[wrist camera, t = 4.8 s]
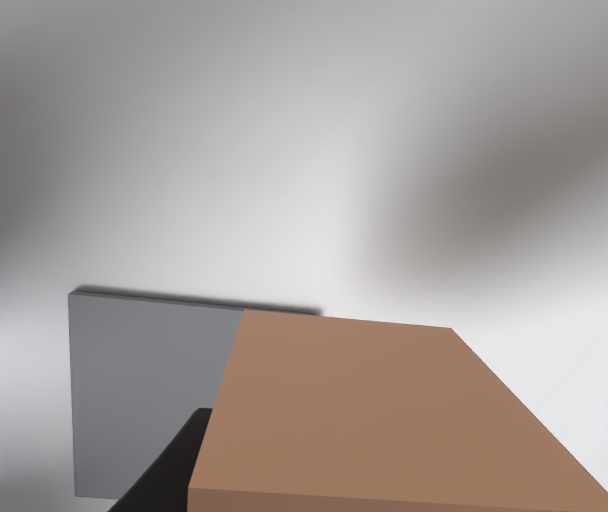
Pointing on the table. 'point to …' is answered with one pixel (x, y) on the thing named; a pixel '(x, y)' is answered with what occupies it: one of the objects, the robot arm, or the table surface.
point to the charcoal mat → (139, 380)
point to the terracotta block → (374, 427)
